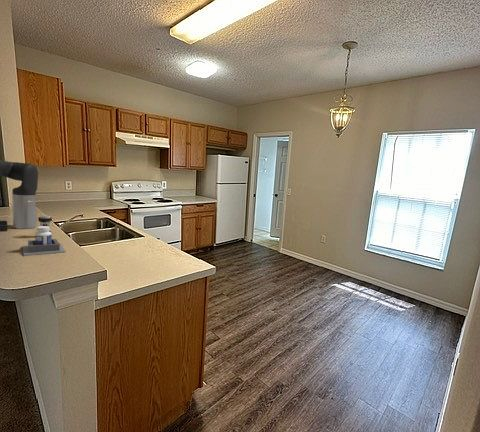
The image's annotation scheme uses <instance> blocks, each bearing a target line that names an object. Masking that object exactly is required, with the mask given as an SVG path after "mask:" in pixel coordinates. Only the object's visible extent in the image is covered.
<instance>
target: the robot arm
mask: <svg viewBox="0 0 480 432" xmlns="http://www.w3.org/2000/svg"><path fill="white" fill-rule="evenodd" d="M38 171H39V170H38V168H37V166H36V165H35V164H33V163H27V162H19V161H16V162H14V161H9V160H7V161H6V160H1V159H0V177H4V178H8V179H11V180H14V181H19V182H21V183H20V185H19V186H18V187H14V188H13V189H12V228H13V229H19V230H20V229H24V230H25V229H26V230H27V229H33V228H34V229H35V228H37V227H38V225H37V223H38V222H37V219H38V217H37V213H38V211H37V208H36V207H37V205H36V203H37V202H36V195H37V194H36V193H37V190H38V182H39V181H38V180H39V172H38ZM0 232H2V233H3V232H8V221H7V220H0Z"/></svg>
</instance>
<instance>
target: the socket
mask: <svg viewBox="0 0 480 432" xmlns="http://www.w3.org/2000/svg"><path fill="white" fill-rule="evenodd" d="M21 248H22V249H21V250H22V254H23V257H27V256H39V255H47V254H48V255H50V254H61V253H66V250H65V247H64V246H63V245H62V243H59V241H58V239H57V238H52V244H46V245H35V239H34V240H33V239H31V240H29V239H28V240H27V244H26V245H22V246H21Z"/></svg>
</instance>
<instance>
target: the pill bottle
mask: <svg viewBox="0 0 480 432" xmlns="http://www.w3.org/2000/svg"><path fill="white" fill-rule="evenodd" d="M36 231H37V232H35V233H34V240H35V245H46V244H52V239H53V238H52V234H53V233H52V231H51V227H50V228H49V227H48V226H36ZM49 231H51V232H49Z"/></svg>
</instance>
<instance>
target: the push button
mask: <svg viewBox="0 0 480 432" xmlns="http://www.w3.org/2000/svg"><path fill="white" fill-rule="evenodd" d="M37 219H38V222H39V224H40V226H48V227H49V228H50V229H51V227H50V226H51V222H52V219H53V217H51V215H46V214H45V215H40V216H39V217H37ZM49 232H51V233H52V231H51V230H49Z"/></svg>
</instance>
